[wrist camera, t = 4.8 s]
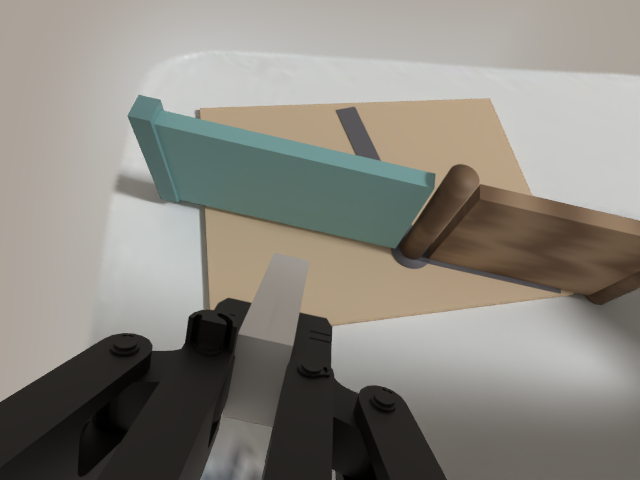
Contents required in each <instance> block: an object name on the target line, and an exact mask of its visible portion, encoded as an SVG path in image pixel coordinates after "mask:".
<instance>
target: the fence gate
mask: <svg viewBox="0 0 640 480" xmlns="http://www.w3.org/2000/svg"><path fill="white" fill-rule="evenodd" d="M128 118H129V121H130V123H131V126H132V128H133V131H134V133H135V135H136V138H137V140H138V143H139V145H140V148H141V150H142V153H143V155H144V158H145V160H146V163H147V165H148V168H149V170H150V173H151V175H152V178H153V180H154V183H155V185H156V188H157V190H158V193H159V195H160V198H161V199H164V200H168V201H173V202H177V203H178V201H179V200H183V201H187V202H192V203H196V204H201V205H205V206H209V207H214V208H218V209H223V210H227V211H232V212H236V213H240V214H245V215H249V216H254V217H258V218H262V219H267V220H271V221H276V222H280V223H284V224H289V225H293V226H298V227H302V228H306V229H311V230H315V231H320V232H324V233H329V234H333V235H337V236H342V237H346V238H351V239H355V240H359V241H364V242H368V243H373V244H377V245H381V246H386V247H390V248H396V247H397V245H398V244H399V242H400V241H401V239H402V238H403V236H404V235H405V233H406V232H407V230H408V229H409V227H410V225H411V224H412V222H413V221H414V219H415V218H416V216H417V215H418V213H419V212H420V210H421V209H422V207H423V205H424V204H425V202H426V201H427V199H428V198H429V196H430V195H431V193H432V192H433V190H434V188H435V176H436V174H435V173H431V172H426V171H422V170H418V169H413V168H409V167H405V166H400V165H396V164H392V163H387V162H383V161H379V160H375V159H370V158H366V157H362V156H357V155H353V154H349V153H344V152H340V151H336V150H331V149H327V148H323V147H318V146H314V145H310V144H305V143H301V142H297V141H292V140H288V139H284V138H279V137H275V136H271V135H266V134H262V133H258V132H253V131H249V130H245V129H240V128H236V127H232V126H227V125H223V124H219V123H214V122H210V121H206V120H201V119H197V118H193V117H188V116H184V115H180V114H175V113H171V112H167V111H164V110H163V106H162V103H161V100H159V99H155V98H150V97H146V96H142V95H138V97H137V99H136V101H135V103H134V105H133V107H132V108H131V110H130V112H129V114H128Z"/></svg>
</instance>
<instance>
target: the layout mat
mask: <svg viewBox="0 0 640 480" xmlns="http://www.w3.org/2000/svg"><path fill="white" fill-rule="evenodd" d="M200 119H201V120H206V121H210V122H214V123H219V124H223V125H227V126H232V127H236V128H240V129H245V130H249V131H253V132H258V133H262V134H266V135H271V136H275V137H279V138H284V139H288V140H292V141H297V142H301V143H305V144H310V145H314V146H318V147H323V148H327V149H331V150H336V151H340V152H344V153H349V154H353V155H357V156H362V157H366V158H370V159H375V160H379V161H383V162H387V163H392V164H396V165H400V166H405V167H409V168H413V169H418V170H422V171H426V172H431V173H435V174H436V176H435V188H434V190H433V192H432V193H431V195H430V196H429V198H428V199H427V201H426V202H425V204H424V205H423V207H422V209H421V210H420V212H419V213H418V215H417V216H416V218H415V219H414V221H413V222H412V224H411V225H410V227H409V229H408V230H407V232H406V233H405V235H404V236H403V238H402V239H401V241H400V242H399V244H398V245H397V247H396V248H390V247H386V246H381V245H377V244H373V243H368V242H364V241H359V240H355V239H351V238H346V237H342V236H337V235H333V234H329V233H324V232H320V231H315V230H311V229H306V228H302V227H298V226H293V225H289V224H284V223H280V222H276V221H271V220H267V219H262V218H258V217H254V216H249V215H245V214H240V213H236V212H232V211H227V210H223V209H218V208H214V207H209V206H205V220H206V240H207V260H208V280H209V300H210V310H214V309H215V307H216V306H217V304H218V303H219V302H221V301H223V300H225V299H226V298H233V299H237V300H242V301H246V302H251V303H252V301H253V299H254V297H255V295H256V293H257V290H258V288H259V286H260V284H261V281H262V279H263V277H264V275H265V272H266V270H267V268H268V266H269V264H270V261H271V259H272V257H273V255H274V253H278V254H282V255H287V256H291V257H296V258H300V259H305V260H309V261H310V262H309V267H308V272H307V277H306V282H305V287H304V293H303V298H302V303H301V308H300V312H301V313H305V314H310V315H314V316H319V317H323V318H327V320H328V321H329V323H330V324H331V326H335V325H343V324H351V323H358V322H366V321H374V320H382V319H390V318H397V317H405V316H413V315H421V314H428V313H436V312H444V311H452V310H460V309H467V308H475V307H483V306H491V305H498V304H506V303H514V302H522V301H530V300H537V299H545V298H553V297H561V296H568V295H573V294H575V292H572V291H567V290H563V289H558V288H554V287H549V286H545V285H541V284H536V283H532V282H527V281H523V280H519V279H514V278H510V277H505V276H501V275H497V274H492V273H488V272H483V271H479V270H474V269H470V268H466V267H461V266H457V265H452V264H448V263H444V262H439V261H435V260H430V259H429V247H430V246H429V247H428V249H427V250H426V251H425V252H424V254H423V255H422V256H421V257H420V258H419V259H416V260H411V259H408V258H406V257H405V256H404V255H403V254H402V252H401V250H400V245H401V243H402V241H403V240H404V238H405V237H406V235H407V234H408V232H409V230H410V229H411V227H412V226H413V224H414V223H415V221H416V220H417V218H418V217H419V215H420V214H421V212H422V211H423V209H424V208H425V206H426V205H427V203H428V202H429V200H430V199H431V197H432V196H433V194H434V193H435V191H436V190H437V188H438V187H439V185H440V184H441V182H442V181H443V179H444V178H445V176H446V175H447V173H448V172H449V170H450V169H451V167H453V166H454V165H458V164H463V165H467V166H469V167H471V168H473V169H474V170H475V171H476V172H477V174H478V176H479V179H480V182H479V185H480V184H483V185H487V186H491V187H496V188H500V189H504V190H509V191H513V192H517V193H522V194H526V195H530V196H532V194H531V192H530V189H529V187H528V185H527V182H526V180H525V178H524V176H523V173H522V171H521V169H520V166H519V164H518V162H517V160H516V157H515V155H514V153H513V150H512V148H511V146H510V144H509V141H508V139H507V137H506V134H505V132H504V130H503V128H502V125H501V123H500V121H499V118H498V116H497V114H496V112H495V109H494V107H493V105H492V102H491V100H490V99H460V100H430V101H401V102H371V103H341V104H312V105H282V106H252V107H223V108H200ZM479 185H478V186H479ZM475 190H476V189H475ZM471 195H472V194H471ZM471 195H470V196H471ZM467 200H468V199H467ZM467 200H466V201H467ZM463 205H464V204H463ZM463 205H462V206H463ZM458 211H459V210H458ZM454 216H455V215H454ZM454 216H453V217H454ZM450 221H451V220H450ZM450 221H449V222H450ZM446 226H447V225H446ZM446 226H445V227H446ZM441 232H442V231H441ZM437 237H438V236H437ZM437 237H436V238H437ZM433 242H434V241H433ZM433 242H432V243H433Z"/></svg>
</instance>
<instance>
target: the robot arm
mask: <svg viewBox="0 0 640 480" xmlns="http://www.w3.org/2000/svg"><path fill="white" fill-rule="evenodd" d="M309 262H310V261H309V260H305V259H300V258H296V257H291V256H287V255H282V254H278V253H274V255H273V257H272V259H271V261H270V264H269V266H268V268H267V270H266V272H265V275H264V277H263V279H262V281H261V284H260V286H259V288H258V290H257V293H256V295H255V297H254V299H253V301H252V303H251V302H246V301H242V300H237V299H233V298H226V299H225V300H223V301H221V302H219V303H218V304H217V306H216V307H215V309H214V310H201V311H198V312H194V313H193V314H192V315H190V316H189V319H188V326H187V333H186V340H185V344H184V346H183V347H182V349H179V350H174V351H152V344H151V342H150V341H149V340H148V339H147V338H145V337H143V336H141V335H136V334H130V333H129V334H128V333H122V334H116V335H112V336H109V337H107V338H105V339H103V340H101V341H99V342H98V343H96V344H95V345H93V346H91V347H90V348H88V349H86V350H85V351H83V352H82V353H80V354H78V355H77V356H75V357H73V358H72V359H70V360H68V361H67V362H65V363H63V364H62V365H60V366H59V367H57V368H55V369H54V370H52V371H50V372H49V373H47V374H45V375H44V376H42V377H41V378H39V379H37V380H36V381H34V382H32V383H31V384H29V385H27V386H26V387H24V388H23V389H21V390H19V391H18V392H16V393H14V394H13V395H11V396H9V397H8V398H6V399H5V400H3V401H1V402H0V480H200V478H201V476H202V473H203V470H204V468H205V465H206V462H207V460H208V457H209V454H210V451H211V449H212V446H213V443H214V441H215V438H216V435H217V433H218V430H219V424H220V419H221V414H222V412H223V409H224V412H223V416H224V417H228V418H233V419H238V420H242V421H247V422H252V423H256V424H261V425H266V426H270V427H273V429H272V434H271V438H270V442H269V447H268V451H267V455H266V460H265V466H264V471H263V475H262V480H332V469H333V470H335V472H336V480H447V479H446V477H445V475H444V473H443V471H442V470H441V468H440V466H439V464H438V462H437V460H436V458H435V456H434V455H433V453H432V451H431V449H430V447H429V445H428V443H427V441H426V440H425V438H424V436H423V434H422V432H421V430H420V428H419V426H418V425H417V423H416V421H415V419H414V417H413V415H412V413H411V412H410V410H409V408H408V406H407V404H406V403H405V401H404V400H403V399H402V397H401V396H399V395H398V394H397V393H395V392H394V391H392V390H390V389H387V388H385V387H381V386H376V385H375V386H367V387H365V388H363V389H361V391H360V393H359V394H358V393H356V392H353V391H351V390H349V389H347V388H345V387H344V386H342V385H341V384H340V383H338V382H337V381H336V379H335V378H334V373H333V369H332V368H331V345H332V344H331V342H332V326H331V324H330V323H329V321H328V320H327V318H323V317H319V316H314V315H310V314H305V313H301V312H300V308H301V303H302V298H303V293H304V287H305V282H306V277H307V272H308V267H309Z"/></svg>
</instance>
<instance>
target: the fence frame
mask: <svg viewBox="0 0 640 480" xmlns="http://www.w3.org/2000/svg"><path fill="white" fill-rule="evenodd" d="M479 182H480V179H479V176H478V174H477V172H476V171H475V170H474V169H473V168H471V167H469V166H467V165H463V164H458V165H454V166H453V167H451V169H450V170H449V172H448V173H447V175H446V176H445V178H444V179H443V181H442V182H441V184H440V185H439V187H438V188H437V190H436V191H435V193H434V194H433V196H432V197H431V199H430V200H429V202H428V203H427V205H426V206H425V208H424V209H423V211H422V212H421V214H420V215H419V217H418V218H417V220H416V221H415V223H414V224H413V226H412V227H411V229H410V230H409V232H408V234H407V235H406V237H405V238H404V240H403V241H402V243H401V245H400V250H401V252H402V254H403V255H404V256H405V257H406V258H408V259H411V260H416V259H419V258H420V257H421V256H422V255H423V254H424V252H425V251H426V250H427V249H428V247H429V246H430V247H429V259H430V260H435V261H439V262H444V263H448V264H452V265H457V266H461V267H466V268H470V269H474V270H479V271H483V272H488V273H492V274H497V275H501V276H505V277H510V278H514V279H519V280H523V281H527V282H532V283H536V284H541V285H545V286H549V287H554V288H558V289H563V290H567V291H572V292H576V293H580V294H585V295H586V297H587V298H588V299H589V300H590V301H591V302H592V303H594V304H598V305H601V304H604V303H606V302H608V301H611V300H613V299H615V298H617V297H620V296H622V295H624V294H627V293H629V292H631V291H634V290H636V289H638V288H640V221H638V220H634V219H630V218H626V217H621V216H617V215H613V214H608V213H604V212H600V211H595V210H591V209H587V208H582V207H578V206H574V205H569V204H565V203H561V202H556V201H552V200H548V199H543V198H539V197H535V196H530V195H526V194H522V193H517V192H513V191H509V190H504V189H500V188H496V187H491V186H487V185H483V184H480V185H479ZM478 185H479V186H478ZM475 189H476V190H475ZM471 194H472V195H471ZM470 195H471V196H470ZM467 199H468V200H467ZM466 200H467V201H466ZM463 204H464V205H463ZM462 205H463V206H462ZM458 210H459V211H458ZM454 215H455V216H454ZM453 216H454V217H453ZM450 220H451V221H450ZM449 221H450V222H449ZM446 225H447V226H446ZM445 226H446V227H445ZM441 231H442V232H441ZM437 236H438V237H437ZM436 237H437V238H436ZM433 241H434V242H433ZM432 242H433V243H432Z"/></svg>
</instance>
